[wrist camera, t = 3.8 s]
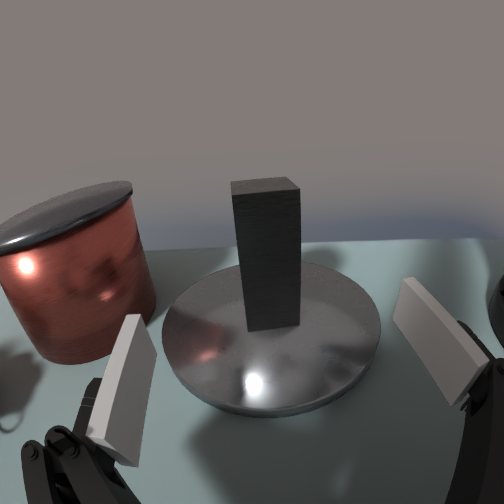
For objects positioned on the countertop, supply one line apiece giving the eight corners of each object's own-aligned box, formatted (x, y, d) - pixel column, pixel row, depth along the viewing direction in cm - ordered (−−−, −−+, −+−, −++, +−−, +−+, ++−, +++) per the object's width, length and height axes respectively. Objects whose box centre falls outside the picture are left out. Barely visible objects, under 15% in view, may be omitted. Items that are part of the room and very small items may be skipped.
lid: (334, 264, 31) (337, 161, 26) (412, 383, 15) (471, 222, 10) (180, 282, 30) (158, 178, 25) (152, 425, 14) (62, 267, 9)
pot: (170, 267, 33) (151, 172, 28) (139, 371, 18) (78, 224, 13) (26, 282, 32) (1, 213, 26) (-28, 349, 17) (-70, 265, 12)
